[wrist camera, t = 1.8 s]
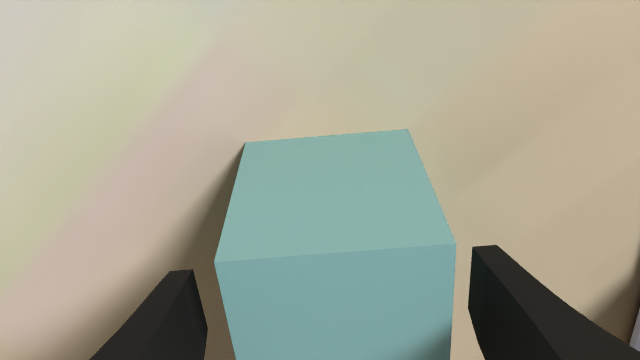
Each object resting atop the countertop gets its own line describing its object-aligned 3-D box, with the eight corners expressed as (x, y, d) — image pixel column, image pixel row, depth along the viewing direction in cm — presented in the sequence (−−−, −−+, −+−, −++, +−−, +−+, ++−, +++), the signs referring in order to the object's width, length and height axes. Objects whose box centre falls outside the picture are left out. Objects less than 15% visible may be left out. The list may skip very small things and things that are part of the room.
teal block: (407, 128, 16) (456, 243, 11) (407, 259, 18) (447, 406, 13) (245, 142, 16) (214, 262, 11) (267, 269, 18) (249, 419, 13)
